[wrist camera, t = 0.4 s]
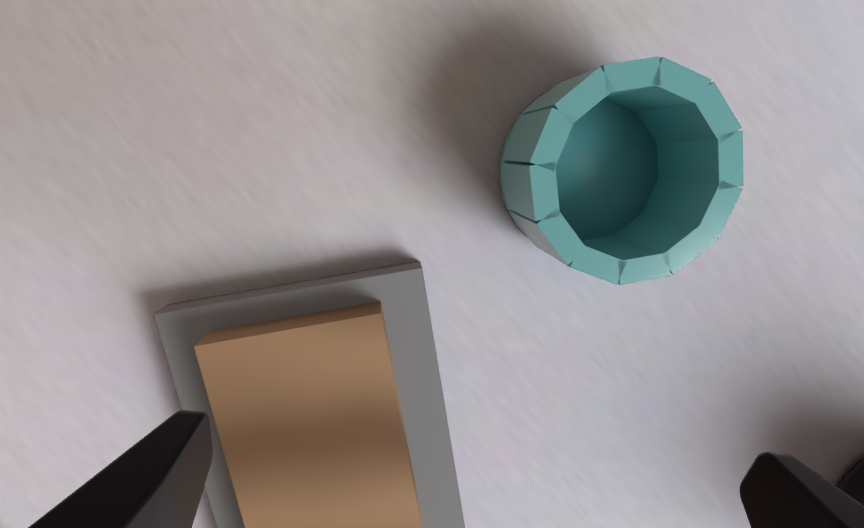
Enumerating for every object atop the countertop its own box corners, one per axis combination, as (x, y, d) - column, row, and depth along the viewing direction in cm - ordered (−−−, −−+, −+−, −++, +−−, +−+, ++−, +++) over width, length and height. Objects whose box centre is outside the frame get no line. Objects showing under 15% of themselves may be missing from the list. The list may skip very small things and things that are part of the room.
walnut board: (422, 523, 22) (425, 550, 20) (269, 553, 21) (260, 583, 20) (380, 301, 19) (380, 313, 18) (208, 331, 19) (193, 346, 17)
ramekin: (669, 239, 21) (744, 262, 17) (510, 267, 21) (543, 298, 16) (661, 67, 20) (741, 43, 15) (488, 94, 19) (519, 78, 15)
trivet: (462, 515, 23) (466, 534, 22) (241, 559, 23) (233, 582, 21) (419, 261, 20) (421, 267, 19) (167, 305, 20) (153, 314, 19)
